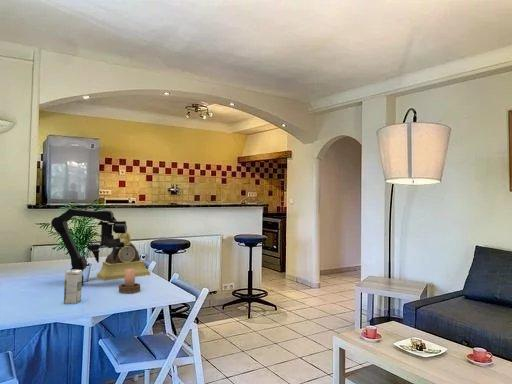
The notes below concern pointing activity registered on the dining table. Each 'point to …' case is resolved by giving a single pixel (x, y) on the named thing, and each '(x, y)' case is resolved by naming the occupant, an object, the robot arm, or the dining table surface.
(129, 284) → the terracotta canister
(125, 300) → the dining table surface
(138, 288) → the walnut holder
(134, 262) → the decorative clock
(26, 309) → the dining table surface
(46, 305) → the dining table surface
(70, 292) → the syrup box
